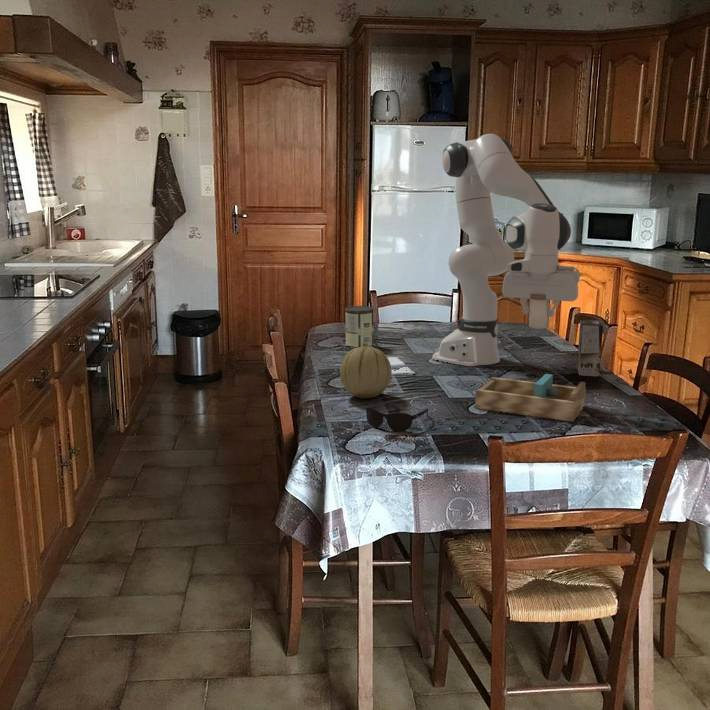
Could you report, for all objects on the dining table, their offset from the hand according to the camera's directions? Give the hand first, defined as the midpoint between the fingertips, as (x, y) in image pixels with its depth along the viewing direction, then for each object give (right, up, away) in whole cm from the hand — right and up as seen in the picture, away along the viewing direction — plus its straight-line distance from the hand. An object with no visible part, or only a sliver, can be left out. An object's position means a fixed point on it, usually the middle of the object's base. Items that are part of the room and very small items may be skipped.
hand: (538, 315), depth 216 cm
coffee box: (+23, -17, +32) cm, 42 cm away
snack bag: (-43, -16, +37) cm, 59 cm away
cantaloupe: (-47, -23, +6) cm, 53 cm away
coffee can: (-49, -8, +68) cm, 84 cm away
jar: (0, -3, +1) cm, 3 cm away
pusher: (+1, -24, -6) cm, 25 cm away
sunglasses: (-39, -28, -14) cm, 50 cm away
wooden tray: (-3, -25, -4) cm, 25 cm away
